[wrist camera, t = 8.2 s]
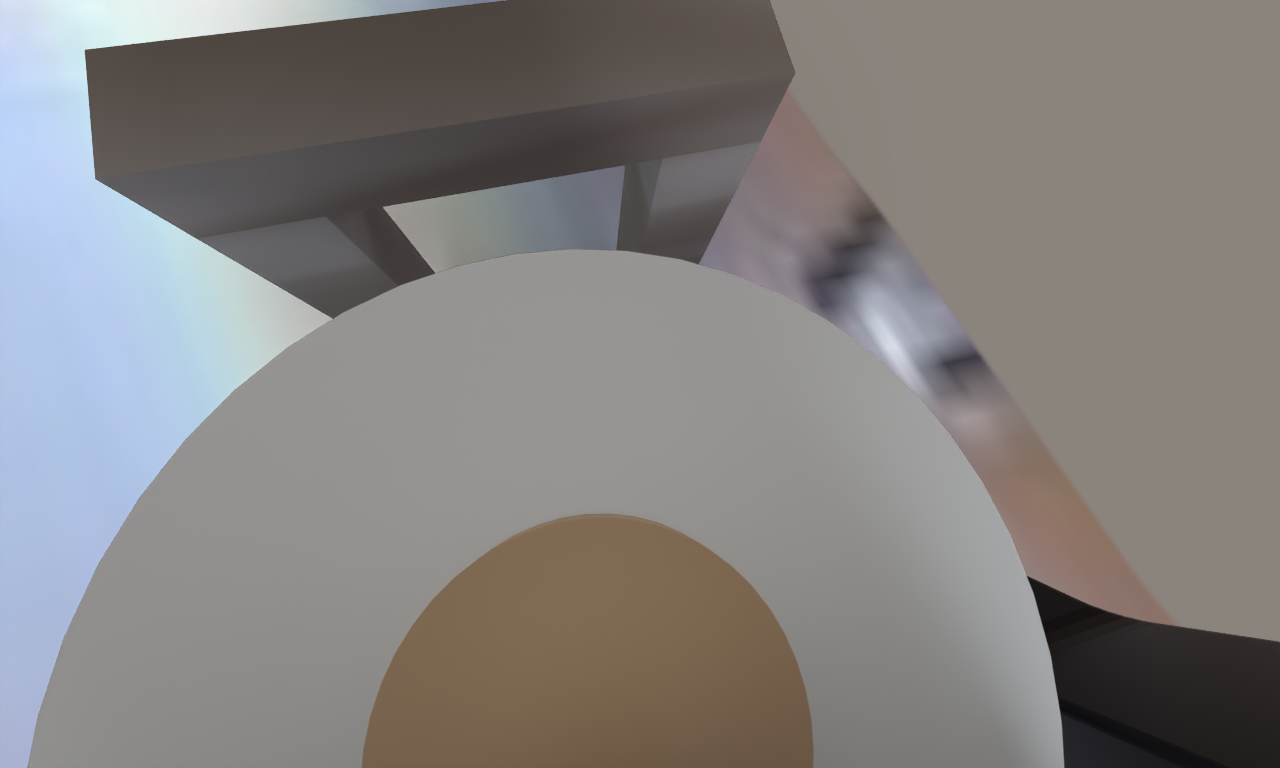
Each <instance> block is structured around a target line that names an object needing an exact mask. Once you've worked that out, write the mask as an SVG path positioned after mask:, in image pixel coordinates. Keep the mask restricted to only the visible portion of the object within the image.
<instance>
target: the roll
mask: <svg viewBox="0 0 1280 768" xmlns="http://www.w3.org/2000/svg"><path fill="white" fill-rule="evenodd" d="M27 768H1064V754H1063V736H1062V721H1061V715H1060V709H1059V703H1058V697H1057V691H1056V685H1055V679H1054V673H1053V666H1052V660H1051V655H1050V651H1049V648H1048V644H1047V641H1046V637H1045V633H1044V630H1043V626H1042V622H1041V619H1040V615H1039V612H1038V608H1037V604H1036V601H1035V597H1034V594H1033V591H1032V589H1031V586H1030V583H1029V581H1028V578H1027V576H1026V573H1025V571H1024V568H1023V566H1022V563H1021V561H1020V558H1019V556H1018V553H1017V551H1016V548H1015V546H1014V543H1013V540H1012V538H1011V536H1010V534H1009V532H1008V530H1007V528H1006V526H1005V524H1004V522H1003V520H1002V518H1001V517H1000V515H999V513H998V511H997V509H996V507H995V505H994V503H993V501H992V499H991V498H990V496H989V494H988V492H987V490H986V488H985V486H984V484H983V482H982V481H981V479H980V478H979V477H978V475H977V474H976V472H975V471H974V469H973V468H972V466H971V465H970V463H969V462H968V460H967V459H966V457H965V456H964V454H963V453H962V451H961V450H960V448H959V447H958V446H957V444H956V443H955V441H954V440H953V438H952V437H951V435H950V434H949V433H948V431H947V430H946V429H945V428H944V427H943V426H942V424H941V423H940V422H939V421H938V420H937V419H936V417H935V416H934V415H933V414H932V413H931V412H930V410H929V409H928V408H927V407H926V406H925V405H924V403H923V402H922V401H921V400H920V399H919V398H918V396H917V395H916V394H915V393H914V392H913V391H912V390H911V389H910V388H909V387H908V386H907V385H906V384H905V383H904V382H903V381H902V380H900V379H899V378H898V377H897V376H896V375H895V374H894V373H893V372H892V371H891V370H890V369H889V368H888V367H886V366H885V365H884V364H883V363H882V362H881V361H880V360H879V359H878V358H877V357H876V356H875V355H874V354H872V353H871V352H870V351H868V350H867V349H866V348H864V347H863V346H862V345H860V344H859V343H858V342H856V341H855V340H853V339H852V338H851V337H849V336H848V335H847V334H845V333H844V332H843V331H841V330H840V329H838V328H837V327H836V326H834V325H833V324H832V323H830V322H829V321H827V320H826V319H824V318H822V317H820V316H818V315H817V314H815V313H813V312H811V311H810V310H808V309H806V308H804V307H803V306H801V305H799V304H797V303H795V302H794V301H792V300H790V299H788V298H787V297H785V296H783V295H781V294H779V293H777V292H774V291H772V290H769V289H767V288H765V287H762V286H760V285H757V284H755V283H753V282H750V281H748V280H745V279H743V278H741V277H738V276H736V275H733V274H731V273H727V272H724V271H720V270H716V269H713V268H709V267H706V266H702V265H699V264H695V263H692V262H688V261H684V260H681V259H675V258H669V257H662V256H656V255H649V254H643V253H636V252H630V251H615V250H583V249H566V250H555V251H544V252H532V253H521V254H512V255H508V256H503V257H498V258H493V259H489V260H484V261H479V262H475V263H470V264H465V265H460V266H456V267H453V268H450V269H447V270H444V271H441V272H439V273H436V274H433V275H430V276H427V277H424V278H421V279H418V280H415V281H412V282H409V283H406V284H403V285H400V286H398V287H396V288H394V289H392V290H390V291H388V292H385V293H383V294H381V295H379V296H377V297H375V298H373V299H371V300H369V301H367V302H364V303H362V304H360V305H358V306H356V307H354V308H352V309H350V310H348V311H346V312H343V313H342V314H340V315H339V316H337V317H335V318H334V319H332V320H331V321H329V322H328V323H326V324H324V325H323V326H321V327H320V328H318V329H316V330H315V331H313V332H312V333H310V334H308V335H307V336H305V337H304V338H302V339H300V340H299V341H297V342H296V343H294V344H292V345H291V346H289V347H288V348H287V349H285V350H284V351H283V352H282V353H280V354H279V355H278V356H277V357H275V358H274V359H273V360H272V361H270V362H269V363H268V364H267V365H265V366H264V367H263V368H262V369H260V370H259V371H258V372H257V373H255V374H254V375H253V376H252V377H250V378H249V379H248V380H247V381H245V382H244V383H243V384H242V385H240V386H239V387H238V388H237V389H235V390H234V391H233V392H232V393H231V394H230V395H229V396H228V397H227V398H226V399H225V400H224V401H223V402H222V403H221V404H220V405H219V406H218V407H217V408H216V409H215V410H214V411H213V412H212V413H211V414H210V415H209V416H208V417H207V418H206V419H205V420H204V421H203V422H202V423H201V425H200V426H199V427H198V428H197V429H196V430H195V431H194V432H193V433H192V434H191V435H190V436H189V437H188V438H187V439H186V440H185V441H184V442H183V443H182V445H181V446H180V447H179V448H178V450H177V451H176V452H175V453H174V455H173V456H172V457H171V459H170V460H169V461H168V462H167V464H166V465H165V466H164V467H163V469H162V470H161V471H160V472H159V474H158V475H157V476H156V477H155V479H154V480H153V481H152V483H151V484H150V485H149V486H148V488H147V489H146V490H145V491H144V493H143V494H142V495H141V496H140V498H139V499H138V501H137V502H136V504H135V506H134V507H133V509H132V511H131V512H130V514H129V515H128V517H127V519H126V520H125V522H124V523H123V525H122V527H121V528H120V530H119V532H118V533H117V535H116V536H115V538H114V540H113V541H112V543H111V544H110V546H109V548H108V549H107V551H106V553H105V554H104V556H103V557H102V559H101V561H100V562H99V564H98V566H97V568H96V570H95V572H94V574H93V577H92V579H91V581H90V583H89V585H88V587H87V589H86V591H85V594H84V596H83V598H82V600H81V602H80V604H79V606H78V609H77V611H76V613H75V615H74V617H73V619H72V621H71V623H70V626H69V628H68V630H67V632H66V634H65V636H64V639H63V642H62V645H61V648H60V651H59V654H58V657H57V660H56V663H55V666H54V669H53V672H52V675H51V678H50V681H49V684H48V687H47V690H46V693H45V696H44V699H43V702H42V705H41V708H40V711H39V714H38V718H37V723H36V728H35V733H34V738H33V743H32V748H31V752H30V757H29V762H28V767H27Z"/></svg>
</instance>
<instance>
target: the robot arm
mask: <svg viewBox="0 0 1280 768" xmlns="http://www.w3.org/2000/svg"><path fill="white" fill-rule="evenodd" d="M1027 578H1028V581H1029V583H1030V586H1031V589H1032V591H1033V594H1034V597H1035V601H1036V604H1037V608H1038V612H1039V615H1040V619H1041V622H1042V626H1043V630H1044V633H1045V637H1046V641H1047V644H1048V648H1049V651H1050V655H1051V660H1052V666H1053V673H1054V679H1055V685H1056V691H1057V697H1058V703H1059V709H1060V715H1061V721H1062V736H1063V754H1064V768H1280V642H1278V641H1271V640H1265V639H1258V638H1252V637H1245V636H1238V635H1232V634H1225V633H1218V632H1212V631H1205V630H1199V629H1192V628H1186V627H1179V626H1172V625H1166V624H1159V623H1153V622H1147V621H1142V620H1137V619H1133V618H1129V617H1125V616H1122V615H1118V614H1115V613H1112V612H1108V611H1106V610H1103V609H1100V608H1097V607H1095V606H1092V605H1089V604H1087V603H1085V602H1082V601H1080V600H1078V599H1076V598H1073V597H1071V596H1069V595H1067V594H1065V593H1063V592H1060V591H1058V590H1056V589H1054V588H1052V587H1050V586H1048V585H1046V584H1043V583H1041V582H1039V581H1037V580H1035V579H1033V578H1031V577H1028V576H1027Z"/></svg>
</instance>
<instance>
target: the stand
mask: <svg viewBox="0 0 1280 768" xmlns="http://www.w3.org/2000/svg"><path fill="white" fill-rule="evenodd" d="M85 59H86V71H87V83H88V95H89V107H90V119H91V131H92V144H93V156H94V168H95V179H96V180H98V181H100V182H101V183H103V184H105V185H106V186H108V187H110V188H112V189H113V190H115V191H117V192H118V193H120V194H122V195H123V196H125V197H127V198H129V199H130V200H132V201H134V202H135V203H137V204H139V205H140V206H142V207H144V208H146V209H147V210H149V211H151V212H152V213H154V214H156V215H158V216H159V217H161V218H163V219H164V220H166V221H168V222H169V223H171V224H173V225H175V226H176V227H178V228H180V229H181V230H183V231H185V232H186V233H188V234H190V235H192V236H193V237H195V238H197V239H198V240H200V241H202V242H203V243H205V244H207V245H209V246H210V247H212V248H214V249H215V250H217V251H219V252H221V253H222V254H224V255H226V256H227V257H229V258H231V259H232V260H234V261H236V262H238V263H239V264H241V265H243V266H244V267H246V268H248V269H249V270H251V271H253V272H255V273H256V274H258V275H260V276H261V277H263V278H265V279H267V280H268V281H270V282H272V283H273V284H275V285H277V286H278V287H280V288H282V289H284V290H285V291H287V292H289V293H290V294H292V295H294V296H295V297H297V298H299V299H301V300H302V301H304V302H306V303H307V304H309V305H311V306H312V307H314V308H316V309H318V310H319V311H321V312H323V313H324V314H326V315H328V316H330V317H331V318H333V319H334V318H335V317H337V316H339V315H340V314H342V313H343V312H346V311H348V310H350V309H352V308H354V307H356V306H358V305H360V304H362V303H364V302H367V301H369V300H371V299H373V298H375V297H377V296H379V295H381V294H383V293H385V292H388V291H390V290H392V289H394V288H396V287H398V286H400V285H403V284H406V283H409V282H412V281H415V280H418V279H421V278H424V277H427V276H430V275H433V274H435V272H434V271H433V270H432V269H431V267H430V266H429V265H428V264H427V262H426V261H425V260H424V259H423V257H422V256H421V255H420V254H419V252H418V251H417V250H416V249H415V247H414V246H413V245H412V244H411V242H410V241H409V240H408V239H407V237H406V236H405V235H404V234H403V232H402V231H401V230H400V229H399V227H398V226H397V225H396V224H395V222H394V221H393V220H392V219H391V217H390V216H389V215H388V214H387V212H386V211H385V210H384V209H383V207H384V206H390V205H395V204H401V203H407V202H413V201H419V200H424V199H430V198H436V197H442V196H448V195H453V194H459V193H465V192H471V191H477V190H483V189H488V188H494V187H500V186H506V185H512V184H517V183H523V182H529V181H535V180H541V179H546V178H552V177H558V176H564V175H570V174H575V173H581V172H587V171H593V170H599V169H605V168H610V167H616V166H622V165H625V173H624V183H623V192H622V202H621V212H620V221H619V231H618V240H617V250H616V251H630V252H636V253H643V254H649V255H656V256H662V257H669V258H675V259H681V260H684V261H688V262H692V263H695V264H699V262H700V260H701V258H702V256H703V254H704V252H705V250H706V248H707V246H708V244H709V242H710V240H711V238H712V236H713V234H714V232H715V230H716V228H717V227H718V225H719V223H720V221H721V219H722V217H723V215H724V213H725V211H726V209H727V207H728V205H729V203H730V201H731V199H732V197H733V195H734V193H735V191H736V189H737V187H738V185H739V183H740V181H741V179H742V177H743V175H744V173H745V171H746V169H747V167H748V165H749V163H750V161H751V159H752V157H753V156H754V154H755V152H756V150H757V148H758V146H759V144H760V142H761V140H762V138H763V136H764V134H765V132H766V130H767V128H768V126H769V124H770V122H771V120H772V118H773V116H774V114H775V112H776V110H777V108H778V106H779V104H780V102H781V100H782V98H783V96H784V94H785V92H786V90H787V88H788V86H789V84H790V83H791V81H792V78H793V76H794V74H795V71H794V68H793V65H792V62H791V59H790V56H789V54H788V51H787V48H786V45H785V43H784V40H783V37H782V34H781V31H780V28H779V25H778V23H777V20H776V17H775V14H774V11H773V9H772V6H771V3H770V0H507V1H498V2H490V3H481V4H473V5H464V6H455V7H447V8H438V9H430V10H421V11H413V12H404V13H396V14H387V15H379V16H370V17H361V18H353V19H344V20H336V21H327V22H319V23H310V24H302V25H293V26H285V27H276V28H267V29H259V30H250V31H242V32H233V33H225V34H216V35H208V36H199V37H191V38H182V39H173V40H165V41H156V42H148V43H139V44H131V45H122V46H114V47H105V48H97V49H88V50H85Z"/></svg>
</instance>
